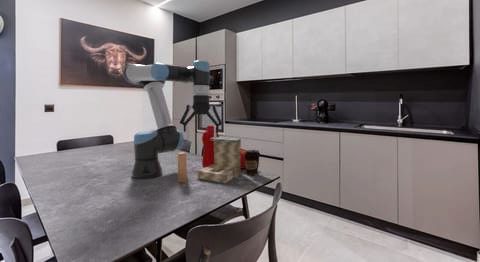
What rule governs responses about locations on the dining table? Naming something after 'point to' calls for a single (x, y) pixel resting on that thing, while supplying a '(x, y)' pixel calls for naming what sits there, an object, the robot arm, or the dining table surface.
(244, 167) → the tomato
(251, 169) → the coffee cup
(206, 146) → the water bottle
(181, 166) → the peg
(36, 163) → the dining table surface
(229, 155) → the socket awning
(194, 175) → the dining table surface
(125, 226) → the dining table surface
